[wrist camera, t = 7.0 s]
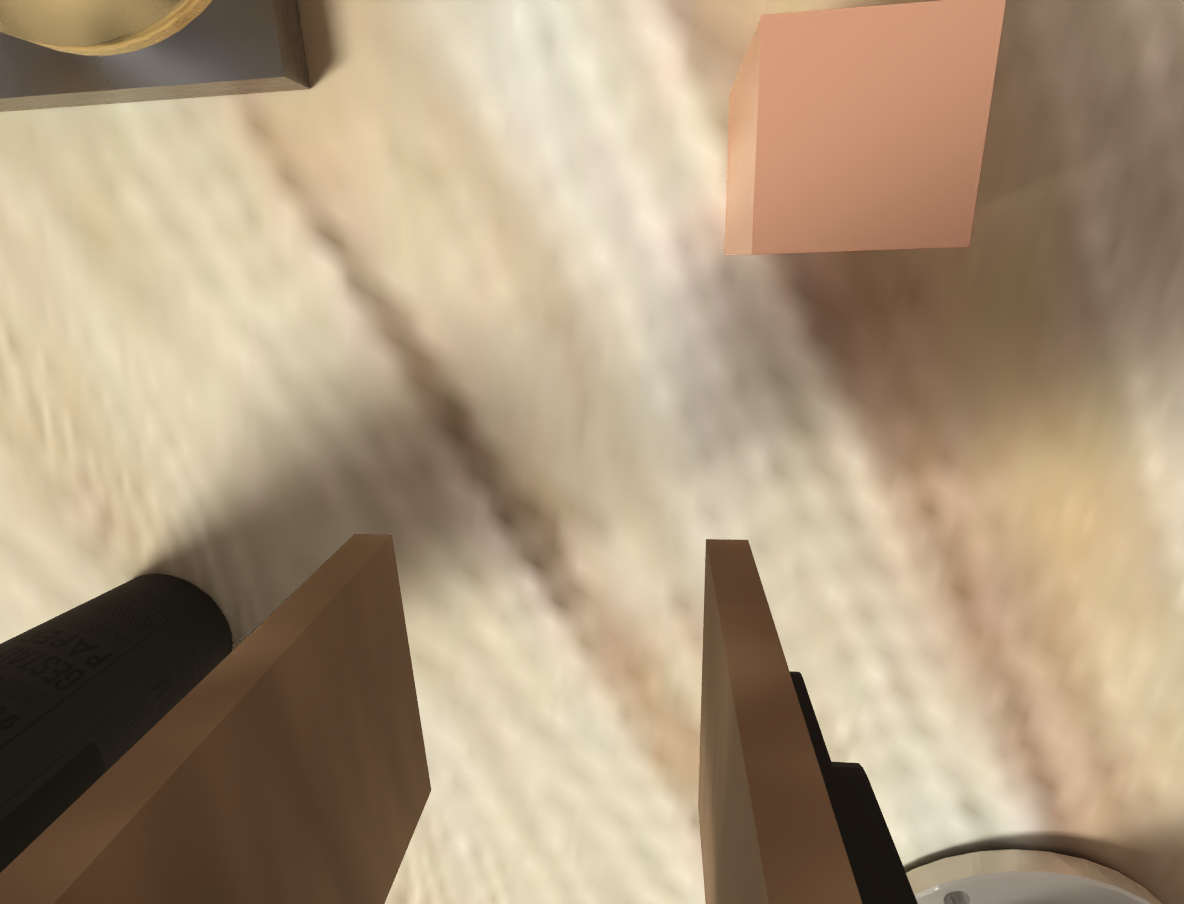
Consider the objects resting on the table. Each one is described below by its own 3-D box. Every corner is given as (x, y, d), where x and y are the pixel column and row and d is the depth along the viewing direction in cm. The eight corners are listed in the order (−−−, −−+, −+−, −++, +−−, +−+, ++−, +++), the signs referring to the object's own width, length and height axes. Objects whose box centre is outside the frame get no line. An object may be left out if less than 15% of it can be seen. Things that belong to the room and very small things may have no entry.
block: (890, 83, 15) (1006, -5, 10) (872, 249, 17) (969, 246, 11) (729, 94, 16) (761, 15, 11) (724, 254, 17) (751, 254, 12)
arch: (747, 539, 10) (982, 1286, 3) (733, 807, 12) (853, 1667, 5) (355, 534, 11) (-257, 1118, 4) (399, 788, 13) (59, 1507, 6)
